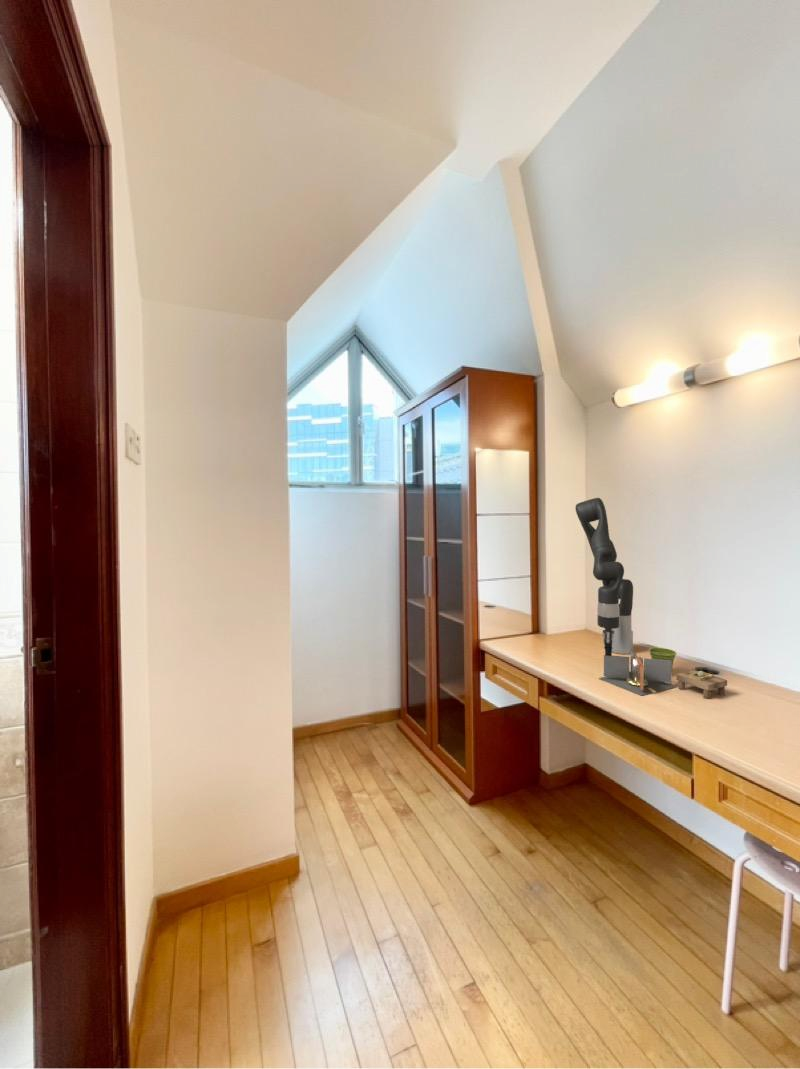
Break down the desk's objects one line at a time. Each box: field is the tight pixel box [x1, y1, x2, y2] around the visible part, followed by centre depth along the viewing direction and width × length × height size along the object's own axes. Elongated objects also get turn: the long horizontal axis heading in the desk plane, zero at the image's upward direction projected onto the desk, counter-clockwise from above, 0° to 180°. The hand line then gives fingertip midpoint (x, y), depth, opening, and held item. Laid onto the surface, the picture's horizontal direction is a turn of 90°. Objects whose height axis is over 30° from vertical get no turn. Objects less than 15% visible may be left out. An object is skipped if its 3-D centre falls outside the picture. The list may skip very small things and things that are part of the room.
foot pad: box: [598, 670, 678, 697], centre depth 161 cm, size 18×19×1 cm
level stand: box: [675, 670, 728, 700], centre depth 153 cm, size 10×11×7 cm
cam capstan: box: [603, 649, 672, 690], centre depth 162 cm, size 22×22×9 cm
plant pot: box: [648, 647, 678, 674], centre depth 171 cm, size 9×9×9 cm
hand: (608, 658), depth 167 cm, fingers closed
